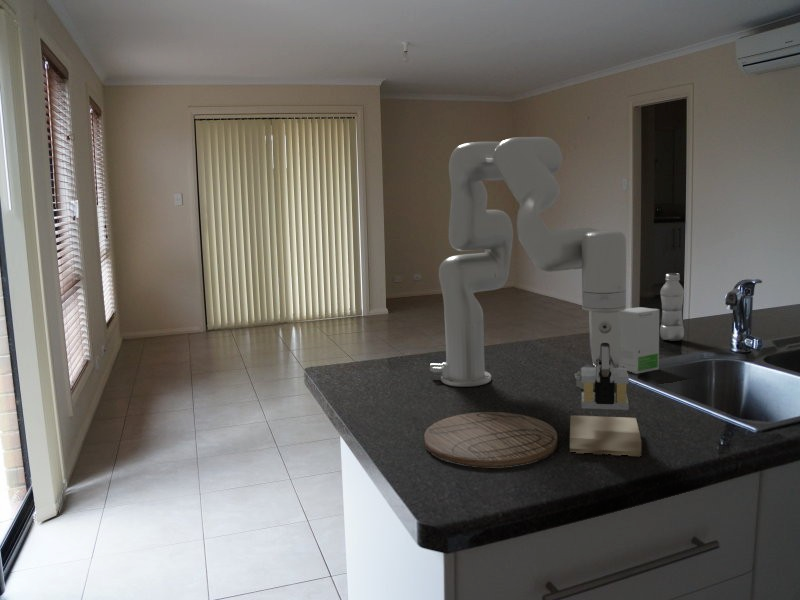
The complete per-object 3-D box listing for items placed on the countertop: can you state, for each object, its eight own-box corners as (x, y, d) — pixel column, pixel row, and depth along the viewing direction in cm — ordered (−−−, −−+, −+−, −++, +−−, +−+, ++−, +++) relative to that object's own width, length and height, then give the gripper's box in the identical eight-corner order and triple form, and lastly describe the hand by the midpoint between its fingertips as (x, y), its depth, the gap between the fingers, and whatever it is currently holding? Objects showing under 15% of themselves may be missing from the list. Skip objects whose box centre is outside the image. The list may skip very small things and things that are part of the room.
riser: (569, 453, 118) (569, 437, 118) (570, 430, 130) (570, 415, 129) (641, 457, 115) (641, 441, 114) (635, 432, 126) (635, 417, 126)
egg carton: (603, 393, 152) (603, 375, 152) (571, 389, 157) (571, 372, 156) (616, 380, 161) (616, 364, 160) (586, 377, 165) (585, 361, 165)
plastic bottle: (687, 342, 194) (689, 274, 191) (664, 343, 194) (665, 275, 191) (678, 337, 200) (680, 272, 197) (656, 338, 201) (657, 273, 197)
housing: (628, 409, 117) (628, 376, 116) (581, 408, 119) (581, 375, 118) (626, 399, 123) (626, 368, 122) (581, 398, 125) (581, 367, 124)
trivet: (403, 435, 132) (402, 426, 132) (509, 413, 142) (509, 404, 142) (465, 482, 110) (464, 471, 109) (586, 452, 120) (586, 442, 119)
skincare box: (636, 374, 164) (636, 313, 162) (616, 369, 170) (616, 309, 168) (660, 369, 168) (661, 308, 166) (639, 364, 174) (640, 305, 171)
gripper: (629, 308, 109) (629, 414, 112) (623, 292, 125) (623, 385, 128) (582, 309, 111) (583, 412, 114) (581, 293, 127) (582, 384, 130)
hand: (604, 397), depth 121 cm, fingers closed on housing, 6 cm apart
